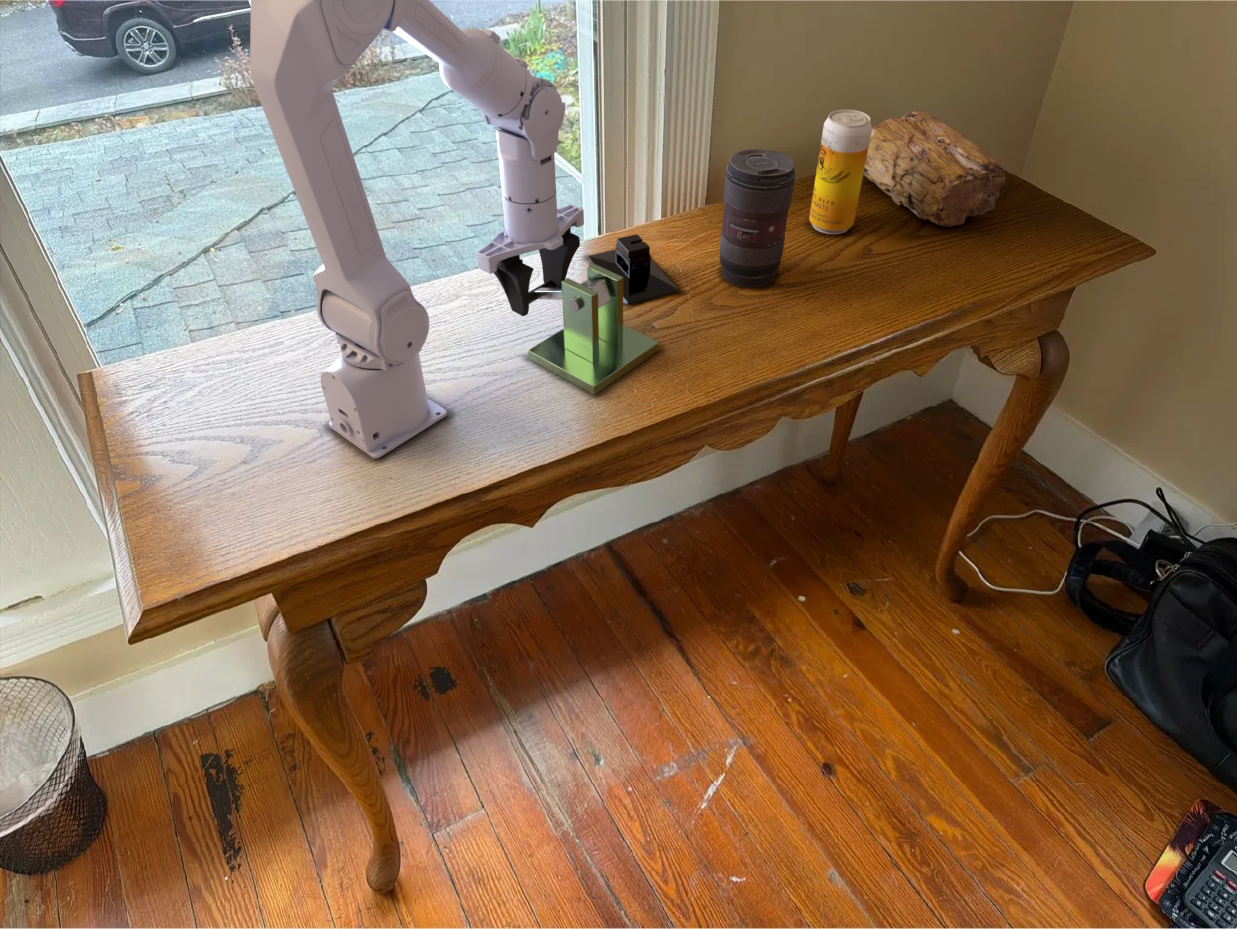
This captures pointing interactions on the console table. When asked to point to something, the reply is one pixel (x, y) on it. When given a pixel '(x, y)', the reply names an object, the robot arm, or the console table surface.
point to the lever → (553, 293)
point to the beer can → (840, 170)
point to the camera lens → (755, 215)
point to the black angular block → (635, 270)
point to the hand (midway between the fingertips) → (536, 302)
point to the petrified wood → (932, 169)
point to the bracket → (593, 336)
